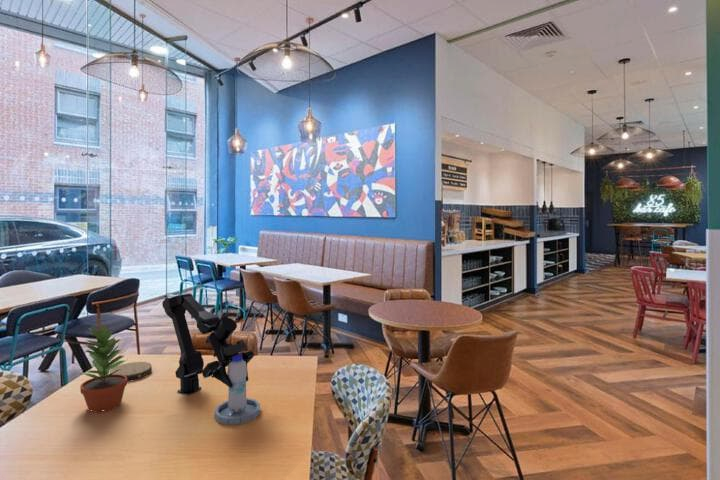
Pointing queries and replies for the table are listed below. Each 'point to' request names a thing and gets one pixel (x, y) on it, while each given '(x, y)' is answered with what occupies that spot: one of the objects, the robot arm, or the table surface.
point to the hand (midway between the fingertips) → (239, 384)
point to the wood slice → (133, 370)
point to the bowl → (237, 413)
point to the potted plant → (103, 373)
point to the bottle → (237, 383)
